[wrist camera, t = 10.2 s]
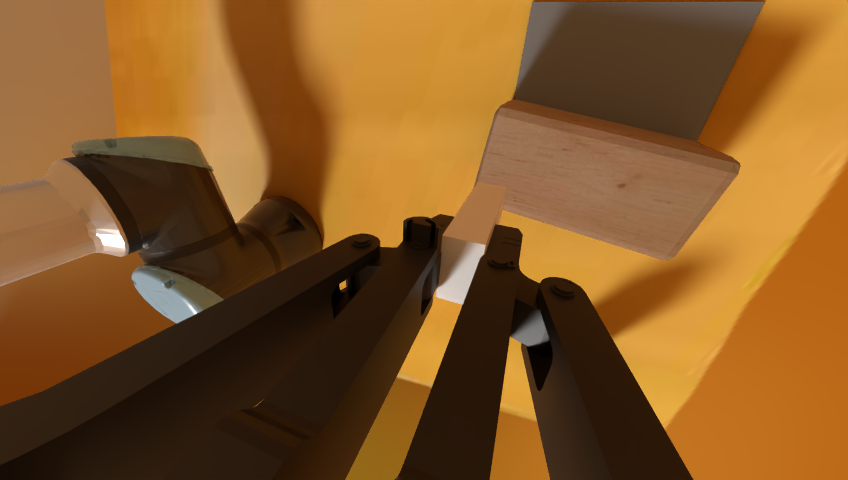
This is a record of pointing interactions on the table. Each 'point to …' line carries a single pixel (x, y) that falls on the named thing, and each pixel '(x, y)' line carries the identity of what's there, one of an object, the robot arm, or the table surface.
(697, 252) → the table surface
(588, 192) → the wooden block
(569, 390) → the robot arm
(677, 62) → the mat
